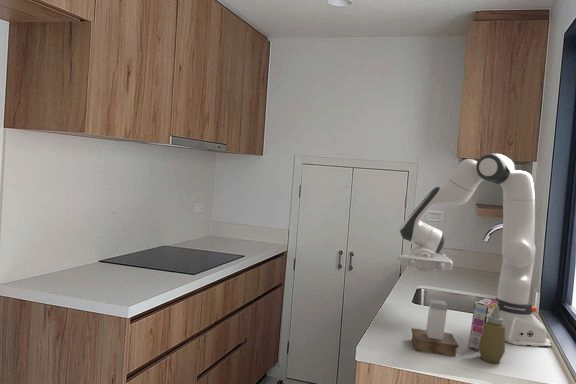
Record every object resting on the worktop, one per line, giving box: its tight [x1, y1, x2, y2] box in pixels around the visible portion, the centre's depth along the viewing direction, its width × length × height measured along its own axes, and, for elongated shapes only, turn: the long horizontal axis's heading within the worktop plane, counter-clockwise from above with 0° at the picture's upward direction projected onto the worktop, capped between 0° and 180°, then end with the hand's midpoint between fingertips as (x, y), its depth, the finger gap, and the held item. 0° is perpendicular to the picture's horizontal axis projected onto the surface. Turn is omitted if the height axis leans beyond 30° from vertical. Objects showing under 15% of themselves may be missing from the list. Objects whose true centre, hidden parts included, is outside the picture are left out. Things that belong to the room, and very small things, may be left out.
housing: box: [425, 298, 449, 340], centre depth 179 cm, size 5×5×12 cm
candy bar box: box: [468, 298, 498, 352], centre depth 186 cm, size 11×5×16 cm, turn 141°
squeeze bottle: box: [479, 306, 506, 364], centre depth 173 cm, size 8×8×18 cm
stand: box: [411, 327, 459, 357], centre depth 180 cm, size 14×12×4 cm
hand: (428, 266), depth 200 cm, fingers open, 8 cm apart
